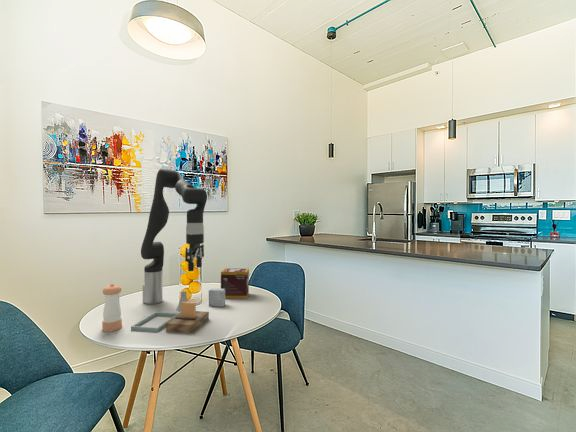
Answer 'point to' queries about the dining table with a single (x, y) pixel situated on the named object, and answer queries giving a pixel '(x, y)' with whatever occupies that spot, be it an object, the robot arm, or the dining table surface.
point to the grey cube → (217, 297)
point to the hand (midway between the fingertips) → (195, 269)
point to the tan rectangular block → (188, 309)
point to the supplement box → (235, 283)
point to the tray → (150, 329)
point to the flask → (182, 300)
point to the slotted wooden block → (187, 323)
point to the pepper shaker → (112, 309)
